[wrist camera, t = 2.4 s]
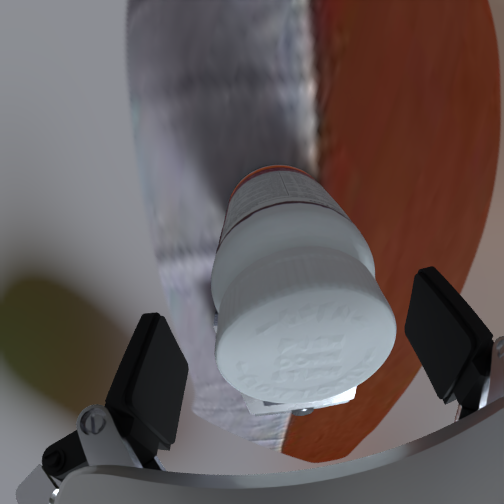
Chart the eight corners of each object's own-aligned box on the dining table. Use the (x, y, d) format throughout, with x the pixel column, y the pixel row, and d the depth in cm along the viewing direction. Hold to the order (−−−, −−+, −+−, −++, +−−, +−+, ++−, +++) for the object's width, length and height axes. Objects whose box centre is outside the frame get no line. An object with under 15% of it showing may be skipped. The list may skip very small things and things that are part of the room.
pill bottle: (303, 264, 19) (342, 416, 9) (216, 238, 18) (180, 395, 8) (341, 182, 16) (451, 299, 6) (245, 147, 15) (232, 228, 5)
